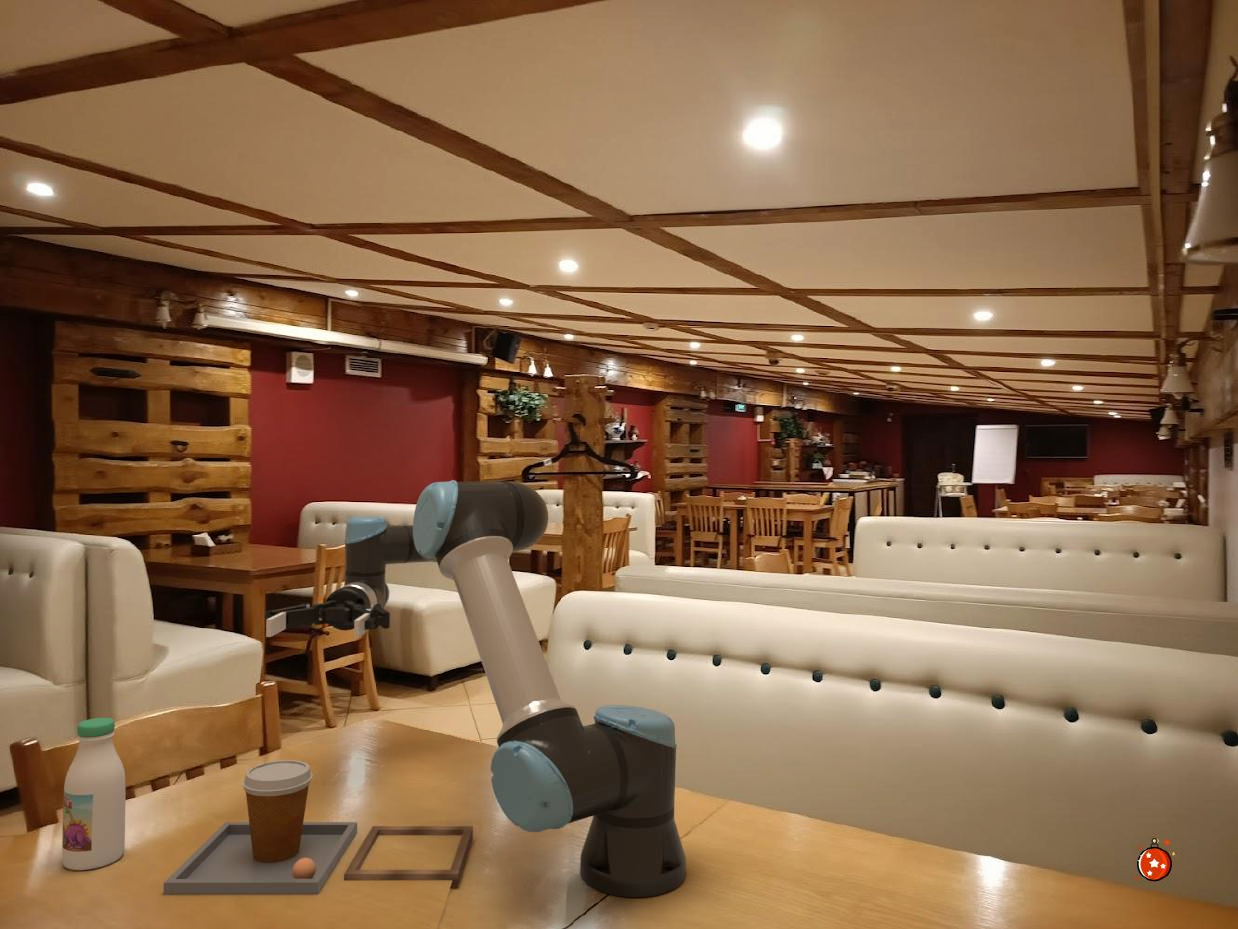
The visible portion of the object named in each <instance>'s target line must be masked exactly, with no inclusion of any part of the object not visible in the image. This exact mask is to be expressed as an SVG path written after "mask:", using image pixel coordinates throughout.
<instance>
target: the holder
mask: <svg viewBox="0 0 1238 929" xmlns="http://www.w3.org/2000/svg"><path fill="white" fill-rule="evenodd" d="M379 836H461V838H460V840H459V844H458V847H457V850H456V852H455V856H454V858H453V861H452V865H451V866H450V869H361V867H362V866H363V863H364V861H365V860H366V858H367V857H368V855H369V853H370V851H371V849H372V847H373V846H374V844H375V842H376V840H377V839H378V838H379ZM473 837H474V826H472V825H471V826H470V825H468V826H467V825H463V826H461V825H460V826H459V825H454V826H453V825H452V826H451V825H450V826H449V825H442V826H441V825H435V826H434V825H430V826H429V825H427V826H426V825H424V826H423V825H422V826H421V825H418V826H417V825H416V826H414V825H412V826H411V825H409V826H408V825H404V826H403V825H395V826H394V825H388V826H387V825H383V826H382V825H381V826H380V825H379V826H378V825H374V826H373V825H372V827H371V829H370V830H369V831H368V833H367V835H366V837H365V838H364V840H363V841H362V843H361V845H360V847H359V848H358V850H357V852H356V853H355V855H354V857H353V858H352V860H351V861H350V863H349V865H348V866H347V868H346V870H345V872H344V873H343V880H344V881H451V883H450V886H449V889H450V890H451V889H458V888H459V885H460V881H461V878H462V876H461V875H463V872H464V870H465V865H466V863H465V862H467V858H468V855H469V852H470V850H469V849H471V846H472V842H473V840H474V839H473Z"/></svg>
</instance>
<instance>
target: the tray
mask: <svg viewBox="0 0 1238 929" xmlns="http://www.w3.org/2000/svg"><path fill="white" fill-rule="evenodd" d="M357 833H358V821H349V822H348V821H339V822H338V821H337V822H336V821H303V828H302V835H301V841H300V849H299V852H298V853H297V854H296V855H294V856H293V857H291V858H289V859H286V860H282V861H278V862H261V861H258V860H255V859H254V858H253V851H252V842H251V834H250V825H249V821H225V822H224V823H223V824H222V825H221V826H220V827H219V828H217V830H216V831H215V832H213V833H212V835H211V836H209V838H208V839H207V840H206V841H205V842H203V844H201V846H199V848H197V849H196V851H194V852H193V853H192V854H191V855H190V857H188V858H187V859H186V860H185V861H184V862H183V863H182V864H181V865H180V866H179V867H178V868H177V869H176V870H175V871H174V872H173V873H172V874H171V875H170V876H169V877H168V878H167V879H166V880H165V881H164V882H163V895H171V896H172V895H176V896H177V895H180V896H181V895H319V894H320V892H321V890H322V889H323V888H324V886H325V884H326V883H327V881H328V879H329V878H330V876H331V875H332V873H333V871H334V870H335V868H336V866H338V864H339V862H340V860H341V859H342V857H343V856H344V854H345V853H346V851H347V849H348V848H349V846H350V845H351V843H352V841H353V840H354V838H355V837H356V835H357ZM302 858H310V859H312V860H313V861H314V863H315V865H316V871H315V874H314V876H313V877H312V878H311V879H295V878H294V877H293V874H292V870H293V866H294V864H295V863H296V862H297V861H298V860H300V859H302Z"/></svg>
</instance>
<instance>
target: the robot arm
mask: <svg viewBox="0 0 1238 929" xmlns="http://www.w3.org/2000/svg"><path fill="white" fill-rule="evenodd" d="M546 504H547V503H546V502H545V500H544V499H543V497H542V496H541V495H540V493H538V492H537V491H536V490H535V489H534V488H533V487H531V486H529V485H527V484H524V483H522V482H516V481H509V480H508V481H456V480H455V479H452V480H450V481H436V482H432V483H431V484H429V485H427V486H426V487H425V488H424V489H423V490H422V492H421V493H420V495H419V497H418V500H417V502H416V504H415V509H414V515H413V519H412V525H400V524H399V525H389V524H387V520H386V518H385V517H383V516H378V515H377V516H375V515H373V516H372V515H370V516H369V515H368V516H367V515H362V516H360V515H359V516H352V517H349V518H348V519H347V522H346V527H345V535H344V585H343V586H342V587H340V588H337V589H336V590H334V591H333V592H331V593H330V594H329V595H328V596H327V598H326V599H325V601H324V602H322V603H316V604H315V603H313V604H312V605H311V604H310V603H308V602H304V603H301V604H299V605H294V606H288V607H284V608H283V607H282V608H278V609H272V610H267V611H265V628H266V630H265V637H266V638H271V637H272V638H273V636H275V635H277V634H279V633H282V631H285V630H287V627H294V626H301V625H302V626H303V625H308V624H312V625H315V626H320V625H321V626H322V625H326V624H327V625H329V626H331V627H332V628H334V629H336V630H339V631H350V630H353V631H354V632H353V636H354V637H353V639H358V638H361V637H362V636H363V635H365V634H366V633H368V632H369V631H370V630H377V629H378V628H379V627H381V629H385V630H387V629H390V626H391V624H390V623H391V612H389V611H388V610H386V609H385V606H386V605H387V603H388V601H389V599H390V588H389V586H388V584H387V582H386V567H387V565H395V564H409V563H410V564H411V563H414V564H415V563H436V564H437V566H438V569H439V573H440V574H441V575H442V577H444V578H447V579H449V580H452V581H454V584H455V587H456V590H457V594H458V596H459V599H460V601H461V602H460V603H461V604H462V609H463V611H464V613H465V617H466V619H467V622H468V626H469V629H470V632H471V634H472V636H473V637H472V638H473V640H474V643H475V646H476V649H477V652H478V656H479V658H480V661H481V664H482V667H483V669H484V672H485V675H486V676H485V677H486V678H487V681H488V685H489V687H490V690H491V693H492V696H493V699H494V702H495V705H496V707H497V711H498V714H499V716H500V720H501V723H502V727H501V729H500V731H499V733H498V736H497V737H496V743H497V744H496V745H497V746H498V748H497V749H495V752H494V753H493V756H492V759H491V762H490V772H491V773H492V776H491V777H490V779H491V785H492V789H493V793H494V796H495V799H496V801H497V803H498V805H499V807H500V809H501V810H502V812H503V813H504V815H505V816H506V817H507V819H508V820H509V821H510V822H511V823H512V824H513V825H515V826H517V827H519V828H520V830H522V831H525V832H529V833H540V832H544V831H547V830H559V829H562V828H564V827H565V826H566V825H568V824H572V823H574V822H578V821H580V820H584V819H587V818H591V817H592V820H591V823H590V826H589V829H588V832H587V835H586V837H585V841H584V844H583V846H582V849H581V853H580V859H579V860H580V861H579V862H580V864H579V865H580V866H579V867H580V868H579V872H580V876H581V878H582V880H583V881H584V882H585V883H586V884H587V885H588V886H590V887H591V888H593V889H595V890H597V891H600V892H601V893H605V894H608V895H612V896H617V897H623V898H624V897H625V898H648V897H653V896H659V895H663V894H666V893H668V892H670V891H673V890H675V889H676V888H678V887H679V886H681V884H682V883H684V880H685V878H686V867H687V866H686V865H687V864H686V862H687V859H686V854H685V851H684V848H683V844H682V840H681V838H680V833H679V831H678V828H677V827H678V826H677V823H676V820H675V797H676V796H675V793H676V792H675V790H676V789H675V788H676V762H677V759H676V758H677V757H676V756H677V755H676V754H677V748H678V745H677V743H676V727H675V723H674V721H673V720H672V719H671V717H669V716H668V715H667V714H665V713H664V712H660V711H657V710H654V709H650V708H646V707H641V706H636V705H635V706H634V705H625V704H623V705H622V704H611V705H610V704H609V705H602V706H599V707H598V708H596V710H595V713H594V715H593V720H594V723H592V724H588V725H587V724H586V725H584V724H583V723H582V720H581V718H580V715H579V713H578V710H577V709H576V706H574V705H571V704H570V703H567V702H565V701H562V699H561V697H560V694H559V691H558V689H557V686H556V683H555V681H554V679H553V676H552V672H551V670H550V668H549V665H548V662H547V660H546V657H545V655H544V652H543V649H542V647H541V644H540V642H539V638H538V636H537V633H536V631H535V629H534V626H533V623H532V620H531V618H530V615H529V612H528V610H527V607H526V605H525V602H524V599H523V597H522V594H521V592H520V588H519V586H518V584H517V581H516V578H515V575H514V573H513V571H512V567H511V565H510V563H509V559H510V557H511V555H512V553H515V552H516V553H517V552H520V551H524V550H527V549H529V548H531V547H533V546H534V545H536V544H537V543H538V542H539V541H540V540H541V539H542V538H543V536H544V534H545V532H547V528H548V526H549V525H548V524H549V511H548V506H547V505H546ZM310 606H311V607H310Z"/></svg>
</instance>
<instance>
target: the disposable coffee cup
mask: <svg viewBox="0 0 1238 929" xmlns="http://www.w3.org/2000/svg"><path fill="white" fill-rule="evenodd" d="M313 776H314V775H313V772H312V771H311V768H310V765H309V763H306V762H304V761H300V760H296V759H295V760H294V759H281V760H280V759H279V760H273V761H267V762H266V761H265V762H263V763H260V764H256V765H254V766H252V767H251V768H249V769H248V770H247V771H246V772H245V777H244V779H243V780H242V781H241V784H242V787H243V789H244V791H245V795H246V796H245V797H246V805H247V807H246V808H247V815H248V822H249V825H250V834H251V842H252V851H253V858H254V859H255V860H258V861H261V862H278V861H282V860H286V859H289V858H291V857H293V856H294V855H296V854H297V853H298V852H299V849H300V841H301V835H302V828H303V822H305V821H304V820H305V814H306V807H307V806H306V805H307V799H308V793H309V787H310V784H311V782H312V780H313Z"/></svg>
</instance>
